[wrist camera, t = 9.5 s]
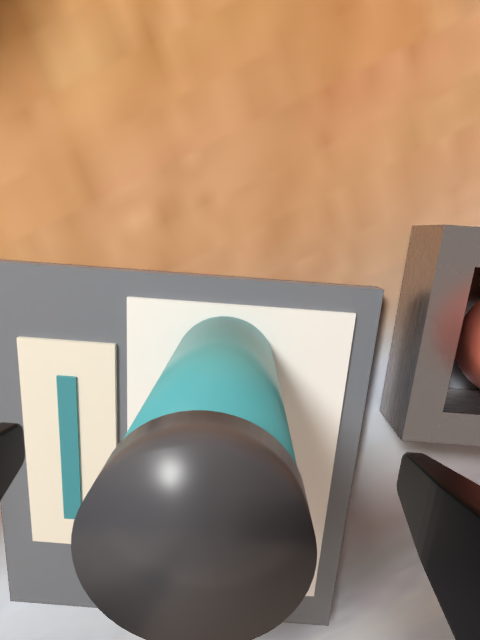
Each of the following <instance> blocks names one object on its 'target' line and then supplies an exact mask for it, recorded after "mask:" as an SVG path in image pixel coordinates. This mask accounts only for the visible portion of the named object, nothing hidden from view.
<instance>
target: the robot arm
mask: <svg viewBox="0 0 480 640" xmlns="http://www.w3.org/2000/svg"><path fill="white" fill-rule="evenodd" d="M24 460H25V444H24V432H23V427H22V425H20V424H19V423H9V422H1V423H0V501H1V500H2V498H3V496H4V495H5V493H6V491H7V490H8V488H9V487H10V485H11V483H12V482H13V480H14V478H15V477H16V475H17V473H18V472H19V470H20V469H21V467H22V465H23V463H24ZM397 491H398V495H399V498H400V501H401V504H402V507H403V510H404V513H405V516H406V519H407V522H408V525H409V528H410V531H411V534H412V537H413V540H414V543H415V546H416V549H417V552H418V555H419V558H420V560H421V563H422V565H423V567H424V570H425V572H426V574H427V576H428V579H429V581H430V583H431V585H432V588H433V590H434V592H435V594H436V597H437V599H438V601H439V603H440V606H441V608H442V610H443V612H444V615H445V617H446V619H447V621H448V624H449V626H450V628H451V630H452V633H453V635H454V637H455V639H456V640H480V486H479V485H478V484H476V483H474V482H472V481H471V480H469V479H467V478H465V477H464V476H462V475H460V474H458V473H456V472H455V471H453V470H451V469H449V468H448V467H446V466H444V465H442V464H441V463H439V462H437V461H435V460H434V459H432V458H430V457H428V456H427V455H425V454H422V453H411V452H406V453H405V454H404V455H403V457H402V460H401V465H400V470H399V475H398V480H397Z"/></svg>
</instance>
